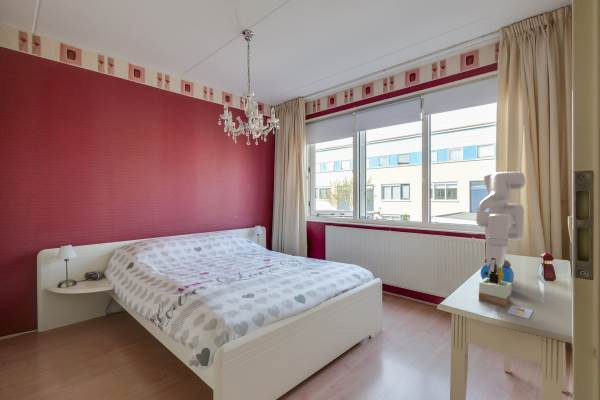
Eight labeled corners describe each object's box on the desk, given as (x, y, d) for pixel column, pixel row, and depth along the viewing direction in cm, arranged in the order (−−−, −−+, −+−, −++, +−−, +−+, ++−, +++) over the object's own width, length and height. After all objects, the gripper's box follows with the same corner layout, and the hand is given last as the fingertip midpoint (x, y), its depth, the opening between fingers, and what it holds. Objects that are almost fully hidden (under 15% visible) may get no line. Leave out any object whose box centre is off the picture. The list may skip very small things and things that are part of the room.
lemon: (504, 286, 123) (505, 268, 122) (489, 284, 125) (490, 266, 124) (501, 281, 128) (501, 264, 127) (486, 280, 130) (487, 263, 129)
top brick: (485, 286, 133) (485, 277, 133) (511, 292, 126) (511, 283, 126) (478, 292, 127) (479, 282, 126) (505, 298, 119) (506, 288, 119)
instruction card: (512, 305, 122) (512, 305, 122) (532, 311, 117) (532, 310, 117) (506, 312, 115) (506, 312, 115) (528, 318, 110) (528, 318, 110)
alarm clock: (513, 289, 140) (515, 260, 139) (509, 292, 137) (511, 262, 136) (484, 282, 151) (485, 255, 150) (479, 284, 147) (480, 256, 146)
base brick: (484, 294, 134) (485, 286, 133) (510, 301, 126) (511, 292, 126) (478, 300, 127) (478, 292, 127) (505, 308, 119) (505, 298, 119)
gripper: (492, 237, 134) (490, 274, 135) (481, 243, 122) (480, 283, 123) (511, 240, 128) (510, 278, 129) (502, 245, 116) (500, 288, 118)
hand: (495, 280), depth 126 cm, fingers closed on lemon, 5 cm apart
